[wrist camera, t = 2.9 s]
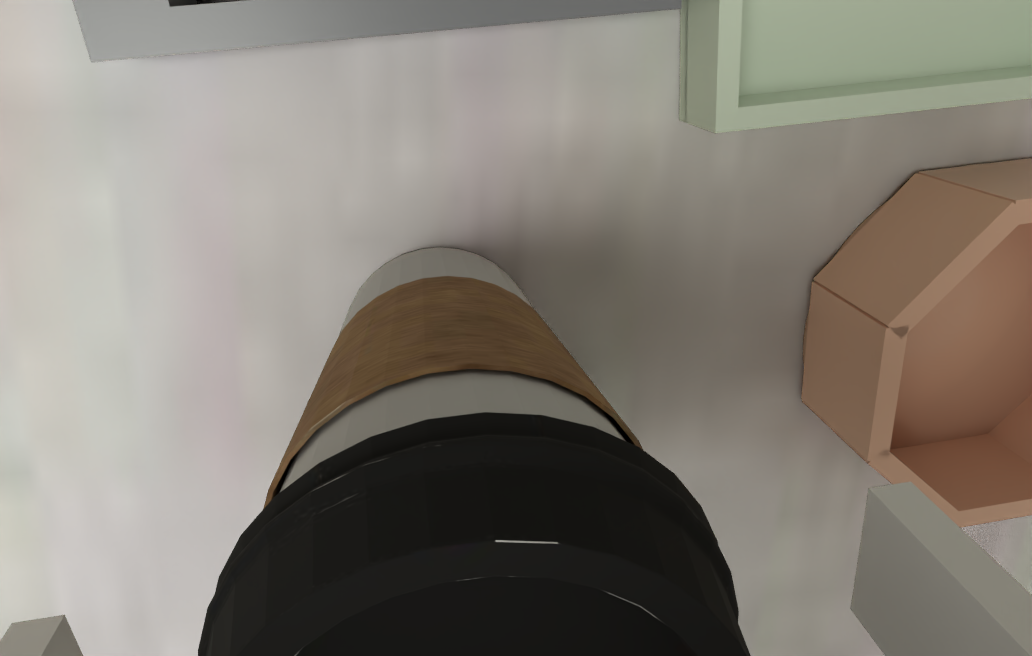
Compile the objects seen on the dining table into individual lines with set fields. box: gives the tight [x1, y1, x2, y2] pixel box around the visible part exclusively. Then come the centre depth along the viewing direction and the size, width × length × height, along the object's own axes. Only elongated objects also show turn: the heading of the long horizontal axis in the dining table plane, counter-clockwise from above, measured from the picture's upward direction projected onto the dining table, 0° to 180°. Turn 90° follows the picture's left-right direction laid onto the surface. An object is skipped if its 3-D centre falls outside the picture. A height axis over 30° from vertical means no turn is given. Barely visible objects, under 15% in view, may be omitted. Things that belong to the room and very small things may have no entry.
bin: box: [801, 158, 1032, 527], centre depth 24 cm, size 11×11×4 cm
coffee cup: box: [198, 247, 750, 656], centre depth 16 cm, size 8×8×15 cm
